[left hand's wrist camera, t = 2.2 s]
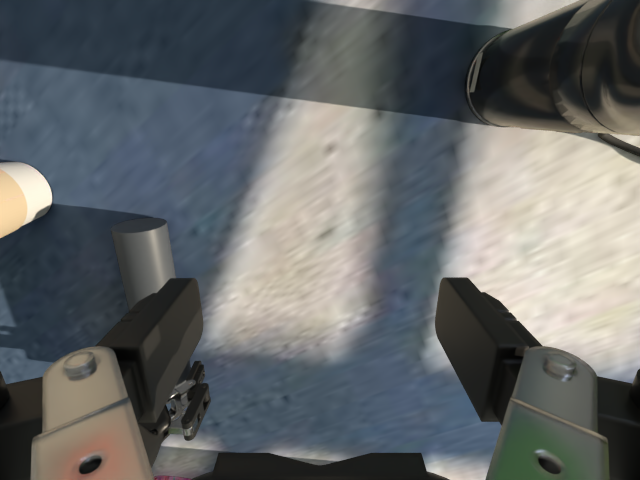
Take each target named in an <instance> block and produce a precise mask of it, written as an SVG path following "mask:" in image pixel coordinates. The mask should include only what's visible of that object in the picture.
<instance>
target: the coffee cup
mask: <svg viewBox="0 0 640 480" xmlns="http://www.w3.org/2000/svg"><path fill="white" fill-rule="evenodd" d="M51 203H52V193H51V189H50V187H49V184H48V183H47V181H46V179H45V178H44V177H43V176H42V175H41V174H40V173H39V172H38V171H37V170H36V169H34V168H33V167H31V166H29V165H27V164H24V163H20V162H4V163H0V238H2V237H4V236H6V235H8V234H10V233H12V232H14V231H15V230H17V229H19V228H20V227H21V226H23V225H25V224H27V223H29V222H31V221H33V220H35V219H37V218H39V217H41V216H43V215H45V214H46V213H47V212H48V210H49V209H50V206H51Z"/></svg>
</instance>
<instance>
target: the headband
mask: <svg viewBox="0 0 640 480" xmlns="http://www.w3.org/2000/svg"><path fill="white" fill-rule="evenodd" d="M154 480H191V479H189V478H182V477H173V476H155V477H154Z"/></svg>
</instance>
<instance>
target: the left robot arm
mask: <svg viewBox="0 0 640 480" xmlns="http://www.w3.org/2000/svg"><path fill="white" fill-rule="evenodd" d="M465 93H466V98H467V102H468V105H469V107H470V109H471V110H472V112H473V113H474V115H475V116H476V117H477V118H478V119H480V120H481V121H482V122H484V123H486V124H488V125H491V126H496V127H520V128H522V129H534V130H547V131H557V132H569V133H582V132H590V133H598V136H599V137H600V138H601V139H603V140H604V141H606V142H608V143H610V144H612V145H614V146H616V147H618V148H620V149H623V150H625V151H628V152H630V153H632V154H635V155H637V156H640V148H638V147H635V146H633V145H631V144H628V143H626V142H624V141H621V140H619V139H617V138H615V137H613V136H612V135H610V134H621V135H633V136H640V0H579V1H577V2H574V3H572V4H570V5H568V6H565V7H563V8H561V9H558V10H556V11H554V12H551V13H549V14H547V15H544V16H542V17H540V18H538V19H535V20H533V21H531V22H528V23H526V24H524V25H521V26H519V27H517V28H514V29H510V30H507V31H505V32H502V33H500V34H498V35H496V36H495V37H493V38H491V39H490V40H489V41H488V42H486V43H485V44H484V45H483V46H482V47H481V48H480V50H479V51H478V52H477V53H476V55H475V56H474V58H473V60H472V62H471V64H470V66H469V69H468V72H467V76H466V82H465ZM435 329H436V334H437V337H438V339H439V341H440V343H441V345H442V347H443V349H444V351H445V353H446V355H447V357H448V358H449V360H450V362H451V364H452V366H453V368H454V370H455V372H456V374H457V376H458V378H459V379H460V381H461V383H462V385H463V387H464V389H465V391H466V393H467V395H468V397H469V399H470V400H471V402H472V404H473V406H474V408H475V410H476V412H477V414H478V416H479V418H480V420H481V421H482V422H500V424H501V425H502V427H501V430H500V434H499V437H498V440H497V444H496V447H495V450H494V453H493V457H492V460H491V463H490V467H489V470H488V473H487V477H486V480H640V369H639V370H638V371H637V374H636V376H635V379H634V381H633V384H632V383H627V382H622V381H617V380H612V379H607V378H603V377H598V376H597V375H596V373H595V371H594V370H593V369H592V368H591V367H590V366H589V365H588V364H587V363H586V362H584V361H583V360H581V359H580V358H578V357H576V356H575V355H573V354H570V353H568V352H566V351H563V350H560V349H556V348H552V347H545V346H542V345H541V344H540V343H539V342H538V341H537V340H536V339H535V338H534V337H533V336H532V334H531V333H530V332H529V331H528V330H527V329H526V328H525V327H524V326H523V325H522V324H521V323H520V322H519V321H517V320H516V318H515V317H514V316H513V315H512V314H511V313H509V310H508V309H507V308H506V307H505V306H504V305H503V304H502V303H501V302H500V301H499V300H497V299H495V298H494V297H492V296H490V295H488V294H487V293H485V292H480V291H479V290H478V288H477V287H476V286H475V285H474V284H473V283H472V282H471V281H470V280H469V279H468V278H443V279H442V280H441V283H440V288H439V295H438V302H437V310H436V317H435ZM202 331H203V316H202V309H201V302H200V294H199V287H198V283H197V280H196V279H195V278H170V279H169V280H168V281H167V282H166V283H165V284H164V286H163V287H162V288H161V289H160V290H159V291H158V292H157V293H152V294H150V295H149V296H147V297H145V298H144V299H142V300H140V301H138V302H137V303H136V304H135V306H134V307H133V308H132V309H131V310H130V311H129V313H127V314H126V315H125V316H124V317H123V318H122V319H121V322H118V323H117V324H116V325H115V326H114V327H113V328H112V329H111V330H110V331H109V332H108V334H107V335H106V336H105V337H104V338H103V339H102V340H101V341H100V342H99V343H98V344H97V345H96V346H95V347H88V348H84V349H80V350H77V351H74V352H72V353H70V354H67V355H65V356H64V357H62V358H60V359H59V360H57V361H56V362H54V363H53V364H52V365H51V366H50V367H49V368H48V369H47V370H46V371H45V373H44V375H43V377H40V378H35V379H30V380H25V381H20V382H16V383H11V384H6V383H5V381H4V379H3V376H2V374H1V372H0V480H154V477H153V473H152V470H151V467H150V463H149V460H148V457H147V453H146V450H145V447H144V444H143V440H142V437H141V434H140V430H139V427H138V424H137V423H156V421H157V420H158V418H159V416H160V414H161V412H162V410H163V408H164V406H165V405H166V403H167V401H168V399H169V397H170V395H171V393H172V391H173V389H174V388H175V386H176V384H177V382H178V380H179V378H180V376H181V374H182V372H183V371H184V369H185V367H186V365H187V363H188V361H189V359H190V357H191V355H192V354H193V352H194V350H195V348H196V346H197V344H198V342H199V340H200V338H201V335H202ZM191 480H449V479H447V478H445V477H442V476H439V475H437V474H434V473H431V472H427V471H426V468H425V464H424V461H423V457H422V454H421V453H369V454H365V455H362V456H358V457H354V458H350V459H346V460H342V461H339V462H335V463H331V464H327V465H322V466H318V465H313V464H309V463H305V462H301V461H298V460H294V459H290V458H286V457H282V456H278V455H275V454H271V453H219V454H218V457H217V461H216V464H215V468H214V471H213V472H209V473H206V474H203V475H201V476H198V477H195V478H193V479H191Z"/></svg>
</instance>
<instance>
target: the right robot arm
mask: <svg viewBox="0 0 640 480" xmlns="http://www.w3.org/2000/svg"><path fill="white" fill-rule="evenodd" d="M204 377H205V372H204V365H202V364H201V361H195V362H194V364H193V366H192V368H191V370H190V372H189V374H188V376H187V378H186V382H185V383H184V384H182V385H181V386H179V387H178V388H176V389H173V391H172V393H171V395H170V397H169V399H168V401H167V403H168V402H171V409H170V410H169V411H168V409H167V406H166V405H165V406H164V408H163V410H162V412H161V414H160V416H159V418H158V420H157V421H156V423H137V424H138V427H139V430H140V434H141V437H142V440H143V444H144V447H145V450H146V453H147V457H148V460H149V463H150V467H151V468H152V466H153V463H154V461H155V459H156V457H157V454H158V451H159V448H160V445H161V443H162V442H163V441H164V440H165V439H166V438H167V437H168V436H169V435H170V434H183V435H184V439H185V440H187V441H189V440H192V439H193V438H194V437H195V436H196V433H197V431H198V429H199V427H200V424H201V422H202V420H203V418H204V415H205V413H206V411H207V409H208V406H209V404H210V402H211V399H210V395H209V386H208V384H207V383H203V384H202V382H203V379H204ZM186 393H187V395H186V396H185V397H183V398H182V399H181V397H182V396H183V395H185V394H186ZM167 403H166V404H167ZM187 406H188V408H187V410H186V411H183V410H184V409H185V408H186V407H187ZM178 416H180V417H179V418H178V419H176V418H177V417H178ZM174 419H176V420H174ZM173 420H174V421H173Z"/></svg>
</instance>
